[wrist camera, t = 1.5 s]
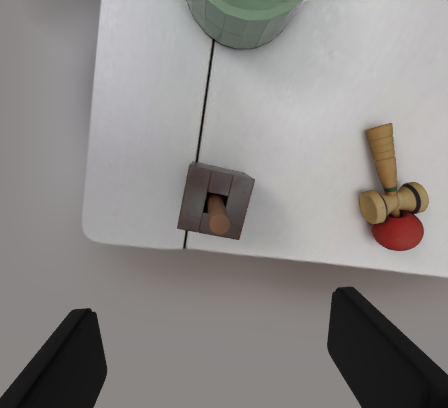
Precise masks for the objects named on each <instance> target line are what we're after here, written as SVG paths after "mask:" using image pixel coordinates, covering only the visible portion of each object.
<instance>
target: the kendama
mask: <svg viewBox="0 0 448 408" xmlns="http://www.w3.org/2000/svg"><path fill="white" fill-rule="evenodd" d="M366 133H367V137H368V140H369V141H370V142H369V143H370V146H371V150H372V153H373V157H374V160H375V165H376V169H377V172H378V175H379V178H380V181H381V183H382V186H383V189H384V191H385V194H386V195H384V194H379V193H377V192H375V191H373V190H370V191H367V192H363V193H362V194H361V195H360V199H359V204H360V209H361V212H362V214H363V216H364V218H365V219H366V220H367V221H368V222H369V223H370V224H373V225H372V233H373V236H374V238H375V239H376V241H377V242H378V243H379V244H380V245H382V246H383V247H385V248H387V249H390V250H394V251H405V250H409V249H412V248H414V247H415V246H417V245H418V244H419V243H420V241H421V240H422V238H423V234H424V229H423V225H422V223H421V221H420V220H419V219H418V218H417V217H416V216H415V215H414V214H417V213H420V212H423V211H425V210H426V208H427V207H428V203H429V199H428V194H427V192H426V190H425V189H424V188H423V187H422V186H421V185H420V184H418V183H416V182H410V183H405V184H403V185H402V186H401V187H400V189H399V190H398V191H397V171H396V159H395V150H394V143H393V142H394V140H393V136H392V135H393V127H392V123H389V124H385V125H382V126H379V127H375V128H372V129H369V130H366Z"/></svg>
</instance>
